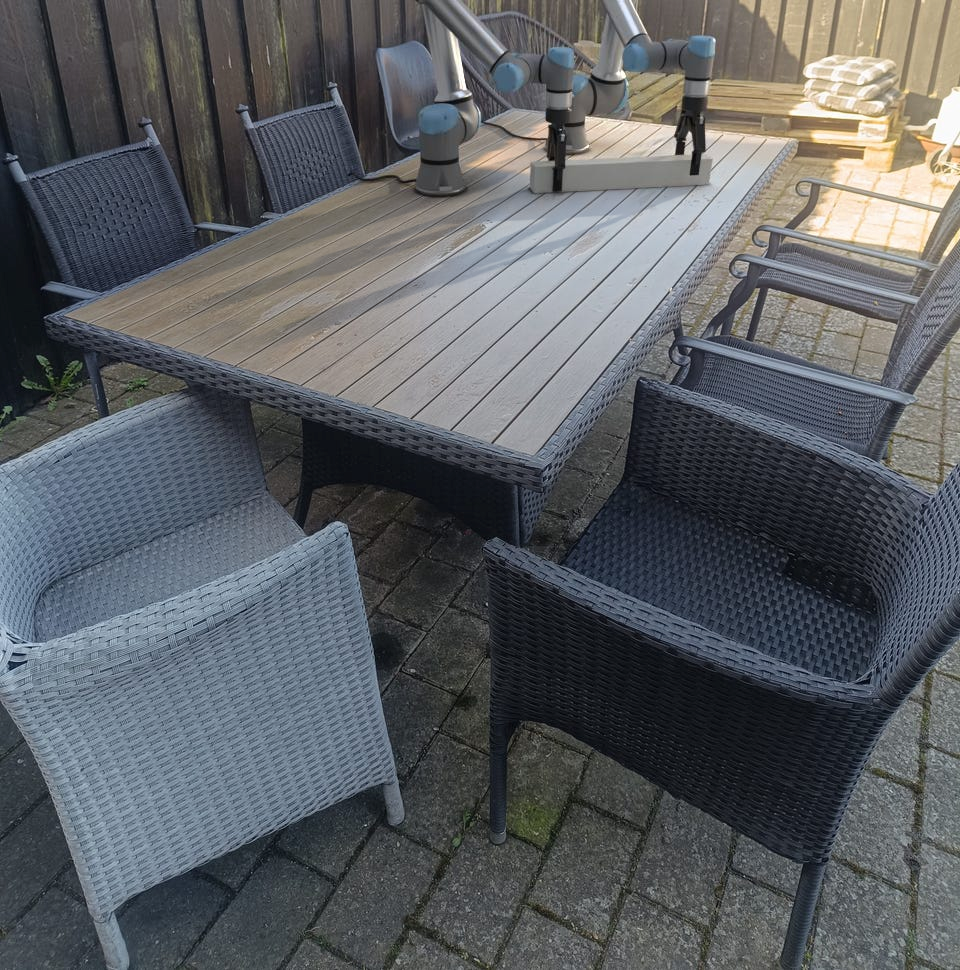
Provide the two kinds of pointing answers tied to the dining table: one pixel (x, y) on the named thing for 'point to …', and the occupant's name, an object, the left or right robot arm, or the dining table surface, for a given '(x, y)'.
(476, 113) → the left robot arm
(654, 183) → the beam
